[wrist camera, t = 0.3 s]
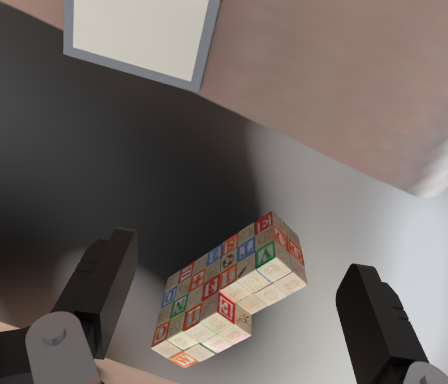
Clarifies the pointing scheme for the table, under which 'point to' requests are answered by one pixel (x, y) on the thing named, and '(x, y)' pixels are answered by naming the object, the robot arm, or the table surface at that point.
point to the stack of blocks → (228, 291)
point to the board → (143, 37)
